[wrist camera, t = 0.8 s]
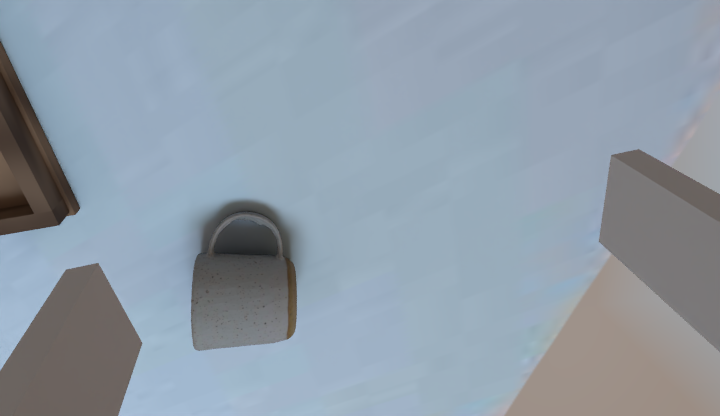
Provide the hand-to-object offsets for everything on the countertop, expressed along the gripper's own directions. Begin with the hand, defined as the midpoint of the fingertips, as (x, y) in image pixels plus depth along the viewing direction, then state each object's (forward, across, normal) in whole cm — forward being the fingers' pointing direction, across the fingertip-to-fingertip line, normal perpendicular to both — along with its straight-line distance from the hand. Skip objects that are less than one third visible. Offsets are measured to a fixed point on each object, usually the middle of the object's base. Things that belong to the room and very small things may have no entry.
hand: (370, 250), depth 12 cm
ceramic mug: (+25, -9, -16) cm, 31 cm away
